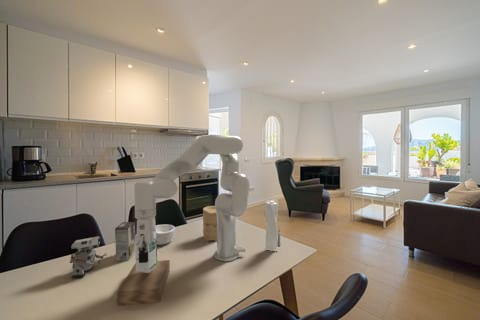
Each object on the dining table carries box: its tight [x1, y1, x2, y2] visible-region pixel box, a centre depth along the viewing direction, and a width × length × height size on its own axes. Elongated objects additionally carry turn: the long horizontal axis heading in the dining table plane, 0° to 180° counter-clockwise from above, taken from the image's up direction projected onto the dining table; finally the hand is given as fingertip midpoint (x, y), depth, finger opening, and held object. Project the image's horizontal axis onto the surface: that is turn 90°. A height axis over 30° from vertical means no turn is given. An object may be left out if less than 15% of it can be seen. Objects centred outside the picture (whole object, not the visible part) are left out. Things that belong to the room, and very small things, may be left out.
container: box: [202, 205, 217, 242], centre depth 136 cm, size 13×13×18 cm
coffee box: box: [114, 221, 136, 262], centre depth 112 cm, size 9×6×16 cm
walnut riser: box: [116, 259, 171, 306], centre depth 88 cm, size 14×20×5 cm
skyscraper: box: [264, 199, 282, 252], centre depth 120 cm, size 8×8×28 cm
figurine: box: [69, 235, 108, 279], centre depth 97 cm, size 9×12×15 cm
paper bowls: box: [155, 223, 176, 246], centre depth 130 cm, size 15×15×8 cm
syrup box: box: [134, 231, 158, 273], centre depth 87 cm, size 6×6×14 cm
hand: (146, 257), depth 87 cm, fingers closed on syrup box, 7 cm apart
